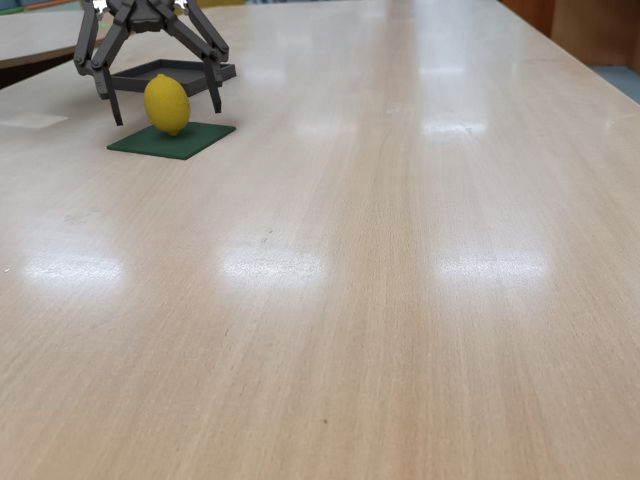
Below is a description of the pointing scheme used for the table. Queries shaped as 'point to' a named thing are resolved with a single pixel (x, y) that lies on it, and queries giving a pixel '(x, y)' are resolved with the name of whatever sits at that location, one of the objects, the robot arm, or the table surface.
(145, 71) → the tray
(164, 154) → the mat
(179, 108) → the lemon
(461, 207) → the table surface
